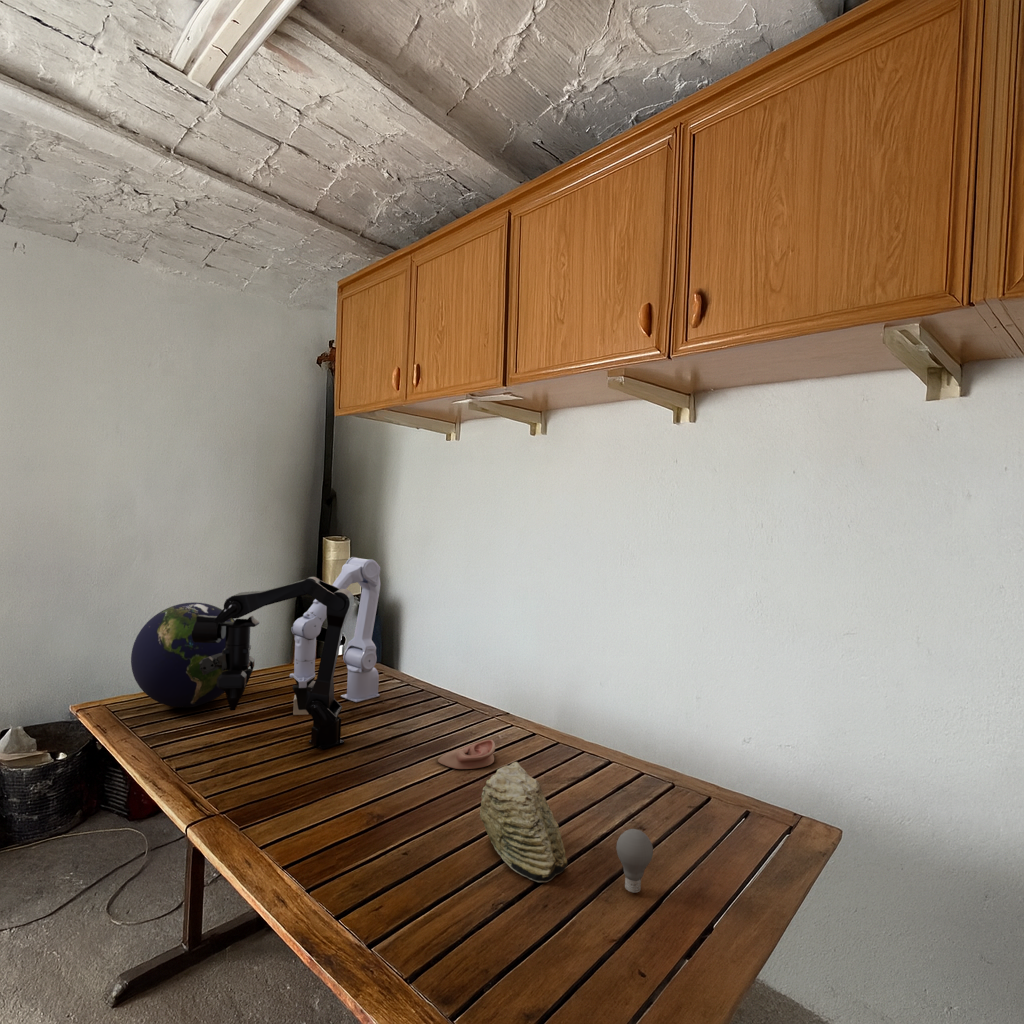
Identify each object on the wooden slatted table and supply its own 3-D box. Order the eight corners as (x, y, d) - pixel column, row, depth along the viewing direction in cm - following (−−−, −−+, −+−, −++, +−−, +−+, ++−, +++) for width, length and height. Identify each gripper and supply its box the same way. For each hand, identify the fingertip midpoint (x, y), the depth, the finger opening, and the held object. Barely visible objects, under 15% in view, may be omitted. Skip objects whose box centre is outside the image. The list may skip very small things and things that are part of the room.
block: (294, 710, 186) (294, 694, 186) (312, 709, 187) (312, 694, 187) (293, 715, 182) (293, 699, 182) (311, 714, 183) (312, 698, 183)
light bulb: (610, 879, 108) (613, 822, 108) (644, 879, 109) (647, 822, 109) (619, 902, 102) (622, 840, 102) (655, 901, 103) (658, 840, 103)
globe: (211, 683, 207) (214, 592, 206) (264, 704, 189) (267, 604, 189) (110, 705, 182) (113, 601, 182) (160, 731, 165) (164, 616, 164)
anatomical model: (434, 749, 151) (448, 732, 162) (433, 766, 151) (447, 748, 162) (488, 756, 148) (499, 738, 159) (487, 773, 148) (498, 754, 160)
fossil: (501, 827, 124) (504, 751, 124) (575, 868, 111) (578, 784, 111) (467, 843, 118) (470, 763, 118) (541, 889, 105) (545, 799, 105)
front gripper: (210, 635, 167) (208, 694, 167) (194, 653, 149) (192, 718, 149) (255, 635, 170) (253, 692, 170) (245, 652, 152) (243, 716, 152)
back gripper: (292, 653, 190) (290, 698, 190) (288, 665, 176) (286, 714, 176) (316, 652, 192) (315, 697, 192) (314, 665, 178) (313, 713, 178)
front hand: (235, 704), depth 160 cm, fingers open, 9 cm apart
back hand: (303, 705), depth 184 cm, fingers open, 6 cm apart
